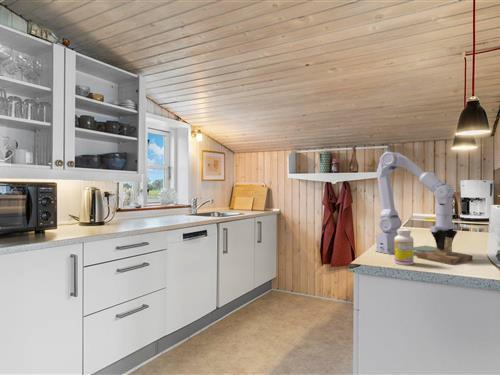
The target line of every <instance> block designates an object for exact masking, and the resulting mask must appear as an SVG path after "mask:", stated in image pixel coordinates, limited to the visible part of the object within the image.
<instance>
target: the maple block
mask: <svg viewBox="0 0 500 375" xmlns="http://www.w3.org/2000/svg"><path fill="white" fill-rule="evenodd" d="M435 247H436V254H439V255H444V256H448V255H452V252H453V242H452V238H447V237H446V238H445V243H444V249H443V250H441V249H438V248H437V245H436V244H435Z"/></svg>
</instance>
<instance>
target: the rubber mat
mask: <svg viewBox="0 0 500 375" xmlns="http://www.w3.org/2000/svg"><path fill="white" fill-rule="evenodd" d="M432 250H436V246H429V245H420V246H413V251H418V252H426V251H432Z"/></svg>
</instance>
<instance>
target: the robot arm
mask: <svg viewBox="0 0 500 375" xmlns="http://www.w3.org/2000/svg"><path fill="white" fill-rule="evenodd" d="M398 168H404V169H405V170H407V171H408V172H410V173H411V174H413V175H415V176H416V177H417V178H418V180H419V183H420V184H421V185H422V186H424V187H425V188H426V189H428V190H429V191H430V192H431V193H433V195H434V196H433V197H435V198H436V200H435V201H436V202H435V225H432V226H430V227H429V228H430V229H429V230H430V232H431V235H432V236H433V239H434V242H435V246H436V245H437V248H438V249H441V250H443V249H444V243H445V238H446V237H447V238H452V243H454V242H453V241H454V239H455V236H456V235H457V234H458V224H453V196H454V195H455V190H454V187H453V186H452V185H451V184H448V183H446V181H444V180H442V179H441V178H439V177H437V176H436V173H435V172H431V171H430V172H429V171H427V172H425V170H423V169H421V167H420V166H418V165H417V164H416V163H414V162H413V161H412V160H411V159H409V158H408V157H407V156H405V155H404V154H402V153H400V152H394V151H393V152H392V151H385V152H384V153H383V154H382V155H381V156H380V157H379V163H378V166H377V169H376V177H377V184H378V191H379V197H380V198H379V199H380V203H381V204H380V205H381V213H380V214H379V223H378V225H379V228H380V230H381V232H379V233H378V234H377V236H376V249H375V250H374V251H375V252H378V253H382V254H388V255H391V254H395V237H396V236H398V233H397V229H401V227H402V225H403V224H402V219H401V218H400V217H399V213H398V211H397V210H396V207H395V201H394V199H395V198H394V195H393V194H394V193H393V188H392V181H391V174H392V173H393V171H394V170H396V169H398Z"/></svg>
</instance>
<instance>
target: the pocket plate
mask: <svg viewBox="0 0 500 375" xmlns="http://www.w3.org/2000/svg"><path fill="white" fill-rule="evenodd" d="M416 258H417V259H422V260H426V261H431V262H436V263H439V264H446V265H456V264H461V263H466V262H471V261H473V254H466V253H461V252H454V251H452V255H448V256H444V255H439V254H436V250H432V251H426V252H422V251H418V252H416Z"/></svg>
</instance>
